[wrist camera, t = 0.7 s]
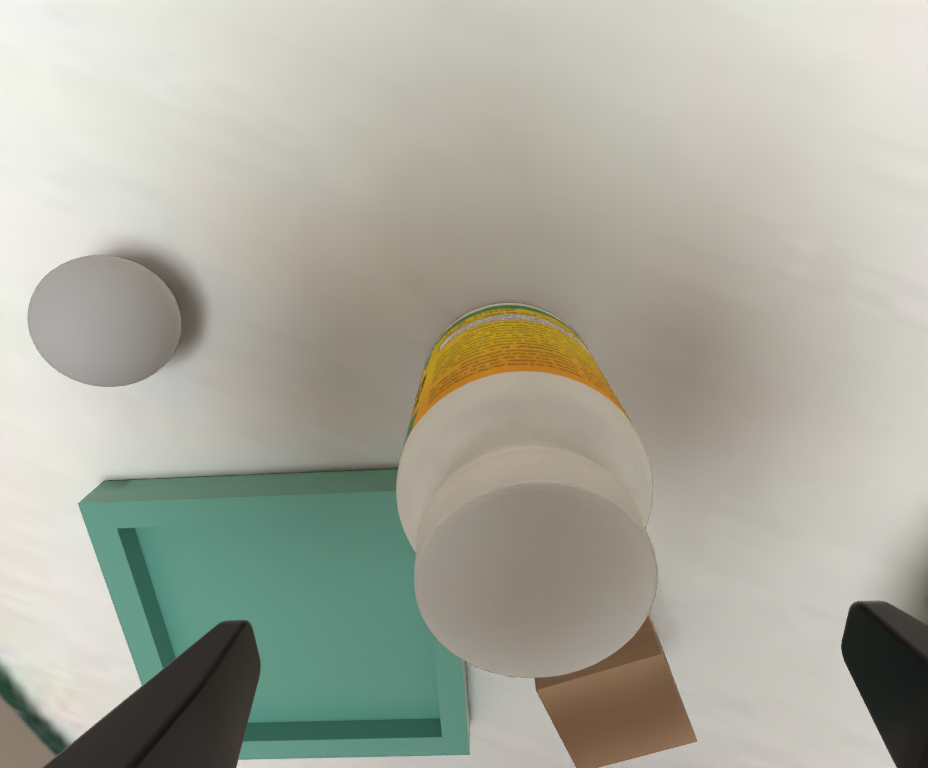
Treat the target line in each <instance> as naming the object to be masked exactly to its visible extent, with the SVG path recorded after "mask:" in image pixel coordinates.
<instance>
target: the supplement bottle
mask: <svg viewBox="0 0 928 768" xmlns="http://www.w3.org/2000/svg"><path fill="white" fill-rule="evenodd" d="M652 495H653V481H652V472H651V467H650V463H649V459H648V456H647V453H646V450H645V447H644V445H643V443H642V441H641V439H640V437H639V435H638V433H637V431H636V430H635V428H634V426H633V424H632V423H631V421H630V419H629V418H628V416H627V414H626V413H625V411H624V409H623V408H622V406H621V404H620V403H619V401H618V400H617V398H616V396H615V395H614V393H613V391H612V390H611V388H610V386H609V385H608V383H607V381H606V379H605V378H604V376H603V374H602V373H601V371H600V369H599V367H598V366H597V364H596V362H595V361H594V359H593V357H592V356H591V354H590V352H589V350H588V348H587V347H586V345H585V344H584V342H583V341H582V340H581V338H580V337H579V336H578V334H577V333H576V332H575V331H574V330H573V329H572V328H571V327H570V326H569V325H568V324H566V323H565V322H564V321H562V320H561V319H559V318H558V317H556V316H555V315H553V314H551V313H549V312H547V311H545V310H542V309H540V308H538V307H534V306H531V305H526V304H521V303H498V304H491V305H487V306H484V307H480V308H478V309H475V310H472V311H470V312H468V313H466V314H464V315H463V316H461V317H460V318H458V319H457V320H456V321H455V322H453V323H452V324H451V325H450V326H449V327H448V328H447V329H446V330H445V331H444V332H443V334H442V335H441V336H440V337H439V339H438V340H437V342H436V343H435V345H434V347H433V348H432V350H431V352H430V354H429V356H428V359H427V361H426V364H425V367H424V371H423V375H422V378H421V381H420V386H419V390H418V393H417V396H416V400H415V405H414V410H413V413H412V417H411V420H410V424H409V428H408V432H407V435H406V438H405V442H404V446H403V450H402V453H401V457H400V461H399V466H398V473H397V482H396V497H397V506H398V513H399V516H400V520H401V523H402V526H403V529H404V532H405V534H406V536H407V538H408V540H409V542H410V544H411V546H412V547H413V549H414V551H415V552H416V558H415V568H414V587H415V596H416V601H417V604H418V607H419V610H420V613H421V615H422V618H423V620H424V621H425V623H426V625H427V626H428V628H429V630H430V631H431V632H432V634H433V635H434V636H435V637H436V639H437V640H438V641H439V642H440V643H441V644H442V645H443V646H444V647H445V648H447V649H448V650H449V651H450V652H452V653H453V654H455V655H456V656H458V657H459V658H461V659H463V660H464V661H466V662H468V663H469V664H471V665H473V666H475V667H478V668H481V669H483V670H485V671H488V672H492V673H496V674H501V675H505V676H509V677H523V678H537V677H552V676H560V675H565V674H569V673H572V672H576V671H579V670H582V669H585V668H587V667H589V666H592V665H594V664H596V663H598V662H600V661H602V660H604V659H605V658H607V657H609V656H610V655H612V654H613V653H615V652H616V651H617V650H619V649H620V648H621V647H622V646H624V645H625V644H626V643H627V642H628V641H629V640H630V639H631V638H632V637H633V636H634V635H635V634H636V632H637V631H638V630H639V629H640V627H641V626H642V624H643V623H644V621H645V620H646V618H647V616H648V614H649V612H650V609H651V607H652V604H653V601H654V598H655V593H656V587H657V564H656V557H655V553H654V550H653V547H652V544H651V541H650V539H649V536H648V534H647V532H646V529H645V528H646V525H647V522H648V519H649V515H650V511H651V505H652Z"/></svg>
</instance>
